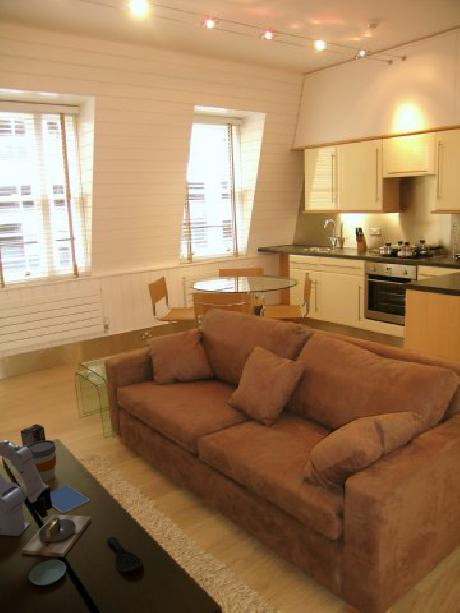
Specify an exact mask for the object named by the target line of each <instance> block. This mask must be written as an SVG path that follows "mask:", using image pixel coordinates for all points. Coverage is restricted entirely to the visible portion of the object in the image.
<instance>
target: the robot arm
mask: <svg viewBox="0 0 460 613" xmlns="http://www.w3.org/2000/svg"><path fill="white" fill-rule="evenodd" d="M0 457H3V458H4V459H7V460H8V461H10V464H11V465H12V467H14V469H15V470H16V472H18V473H19V474H20V477H21V479H22V481H23V484H24V485H25V489H27V493H28V496H29V500H30V501H29V503H28V506H29V507H30V508H32V509H33V510H34V511H35V512H36V513H37V514H38V516H39V517H40V518H41V519H45V518H46V517H48V515H49V514H48V511H49V510H51V509H53V508H54V507H53V506H52V501H51V495H50V492H52V491H51V489H52V488H51V487H49V485H48V484H46V483H45V482H44V481H42V479H41V477H40V475H39V473H38V471H37V468H36V466H35V464H34V462H33V460H32V459H33V457H34V453H33V451H32V449H31V448H30V447H28V446H26V445H25V446H23V445H17V444H15V443H14V442H11V441H10V440H8V439H4V440H0ZM26 498H27V496H26V491H25V490H24V489H23V488H22V487H21V486H19V485H18V484H17V483H16V482H9V481H7V480H6V479H5V478H4V477H3V476H2V474H1V473H0V536H1V535H2V536H12V537H13V536H14V537H20V536H21V534H22V533H23V532H24V531H25V530H26V529H27V528H28V527H29V526H30V524H31V522H27V521H26V522H25V515H24V509H23V508H24V507H23V505H24V502H25V500H26Z"/></svg>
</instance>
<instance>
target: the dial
mask: <svg viewBox="0 0 460 613" xmlns="http://www.w3.org/2000/svg"><path fill="white" fill-rule="evenodd" d="M42 526H43V525H42ZM40 529H41V530H40ZM40 529H39V530H40V531H39V530H38V531H39V538H40V539H41V540H42V541H43V542H46V543H55V542H60V541H63V540H65V539H67V538H69V537H70V536H71V535H73V533H74V532H75V530H76V526H75V523H74V522H73V521H71V520H68V519H60V518H54V519H53V520H52V522H50V523H48V524H46V525H45V526H43V527H42V528H41V527H40Z"/></svg>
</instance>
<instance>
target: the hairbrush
mask: <svg viewBox="0 0 460 613" xmlns="http://www.w3.org/2000/svg"><path fill="white" fill-rule="evenodd" d="M106 542H107V544H108V545H109V546H112V547H113V548H114V549H115V550H116V553H115V554H116V556H115V564H114V565H115V568H116V571H118V572H119V573H120V574H131V573H133V572H136V571H138V570H140V569H141V568H142V567H143V566H144V565H143V564H144V563H143V560H142V558H140V555H138V554H135V553H133V551H132V550H131V551H128V550H127V549H126V548H124V547H123V546H122V545H121V543H120V542H119V540H118V538H117V537H115V536H109V537H107V539H106Z"/></svg>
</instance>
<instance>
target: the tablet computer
mask: <svg viewBox="0 0 460 613" xmlns="http://www.w3.org/2000/svg"><path fill="white" fill-rule="evenodd" d="M50 495H51V501H52V507H53V508H54V509H55V510H56V511H58V512H59V513H61V515H65V514H66V513H69V512H71V511H73V510H75V509H77V508H79V507H82V506H83V505H85V504H87V503H89V502H90V498H88V497H86V495H83V494H81V493H80V492H78V491H77V490H75V489H74V488H73V487H71V486H69V485H67V484H66V485H64V486H61V487H59V488H57V489H54V490H52V491H50Z"/></svg>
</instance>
